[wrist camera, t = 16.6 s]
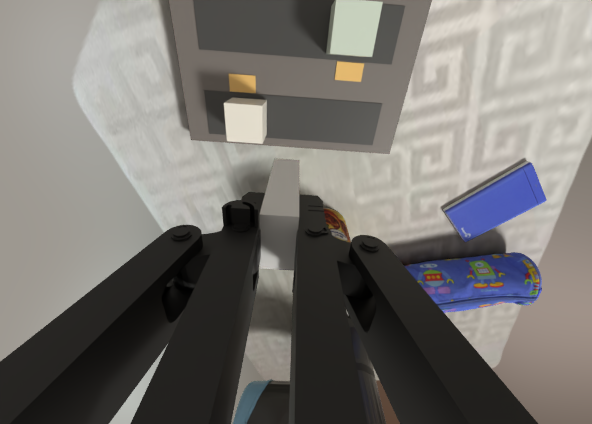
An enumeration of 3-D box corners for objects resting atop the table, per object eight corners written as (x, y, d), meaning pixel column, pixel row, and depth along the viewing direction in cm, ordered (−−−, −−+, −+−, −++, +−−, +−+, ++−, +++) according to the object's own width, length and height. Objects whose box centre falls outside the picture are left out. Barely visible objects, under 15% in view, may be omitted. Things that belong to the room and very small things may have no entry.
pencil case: (384, 287, 50) (401, 332, 41) (384, 256, 45) (403, 299, 37) (502, 274, 47) (544, 319, 39) (515, 239, 43) (565, 282, 35)
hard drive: (466, 243, 42) (547, 201, 37) (445, 212, 39) (532, 163, 34) (460, 237, 43) (539, 196, 39) (440, 207, 40) (523, 159, 35)
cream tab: (266, 134, 31) (262, 143, 28) (234, 131, 31) (226, 141, 28) (266, 99, 29) (262, 105, 26) (232, 97, 29) (223, 102, 26)
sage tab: (362, 56, 27) (371, 56, 23) (326, 53, 27) (329, 53, 23) (371, 9, 25) (382, 1, 21) (331, 6, 24) (336, -3, 21)
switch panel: (384, 149, 34) (389, 154, 33) (196, 135, 34) (190, 140, 32) (424, -1, 26) (433, -5, 24) (173, -23, 25) (163, -29, 23)
